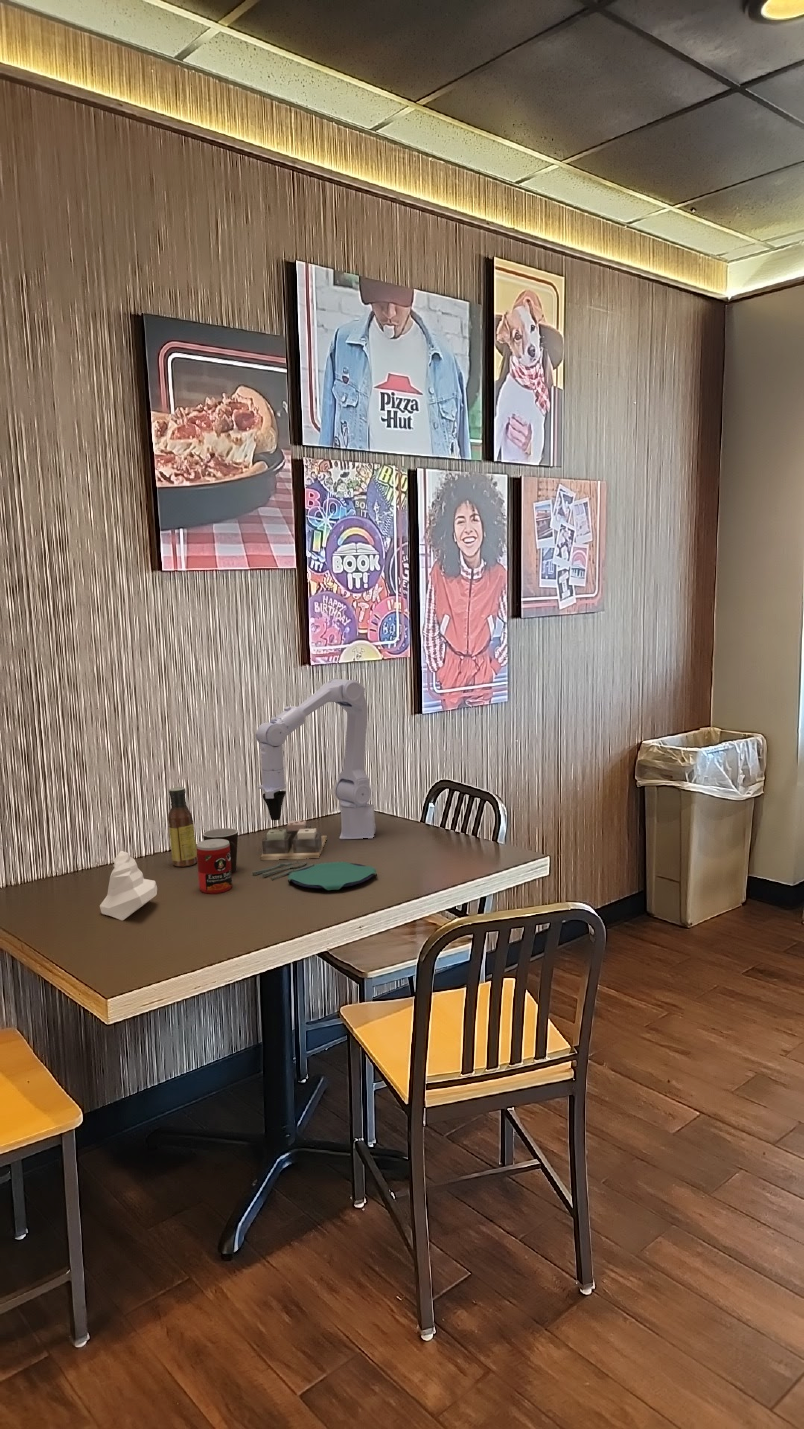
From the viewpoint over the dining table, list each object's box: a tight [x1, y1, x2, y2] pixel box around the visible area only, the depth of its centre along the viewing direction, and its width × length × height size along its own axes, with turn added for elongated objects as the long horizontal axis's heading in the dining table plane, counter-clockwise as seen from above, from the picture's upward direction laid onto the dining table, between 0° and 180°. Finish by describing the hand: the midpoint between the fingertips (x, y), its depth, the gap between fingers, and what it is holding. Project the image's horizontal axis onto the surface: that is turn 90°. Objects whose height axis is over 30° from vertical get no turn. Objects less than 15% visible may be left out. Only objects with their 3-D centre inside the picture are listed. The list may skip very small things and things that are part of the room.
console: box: [260, 824, 328, 861], centre depth 256 cm, size 15×19×4 cm
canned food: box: [196, 839, 233, 894], centre depth 225 cm, size 8×8×11 cm
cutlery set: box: [252, 860, 378, 891], centre depth 231 cm, size 20×30×2 cm, turn 50°
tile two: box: [266, 828, 287, 840], centre depth 252 cm, size 4×4×3 cm
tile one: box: [297, 828, 318, 839], centre depth 252 cm, size 4×4×3 cm
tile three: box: [286, 820, 307, 831], centre depth 261 cm, size 4×4×3 cm
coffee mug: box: [202, 827, 239, 874], centre depth 237 cm, size 12×9×10 cm
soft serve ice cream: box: [99, 850, 158, 921], centre depth 212 cm, size 12×15×14 cm
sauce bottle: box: [167, 786, 198, 868], centre depth 245 cm, size 6×6×20 cm
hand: (275, 819), depth 251 cm, fingers closed
